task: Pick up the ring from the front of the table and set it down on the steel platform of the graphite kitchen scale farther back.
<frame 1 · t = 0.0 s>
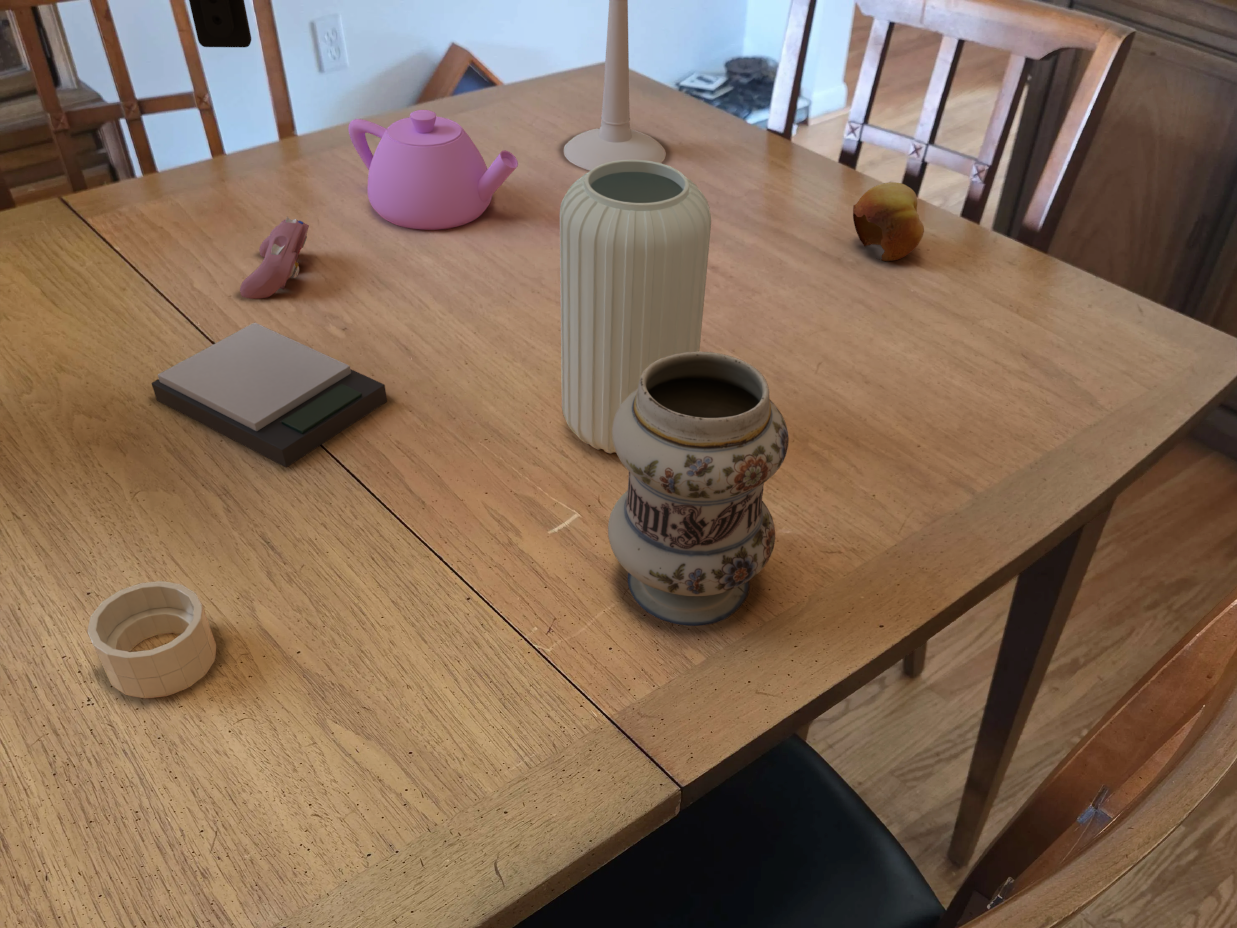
hand: (237, 20, 73), 32 cm above the table, tool pointing down, fingers open, 9 cm apart
teapot: (439, 213, 125), on the table
vase: (626, 432, 97), on the table
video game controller: (281, 283, 113), on the table
candlestick: (614, 158, 137), on the table
scale: (274, 406, 97), on the table
ring: (164, 664, 76), on the table
apothecary jar: (685, 589, 83), on the table
fruit: (880, 258, 122), on the table
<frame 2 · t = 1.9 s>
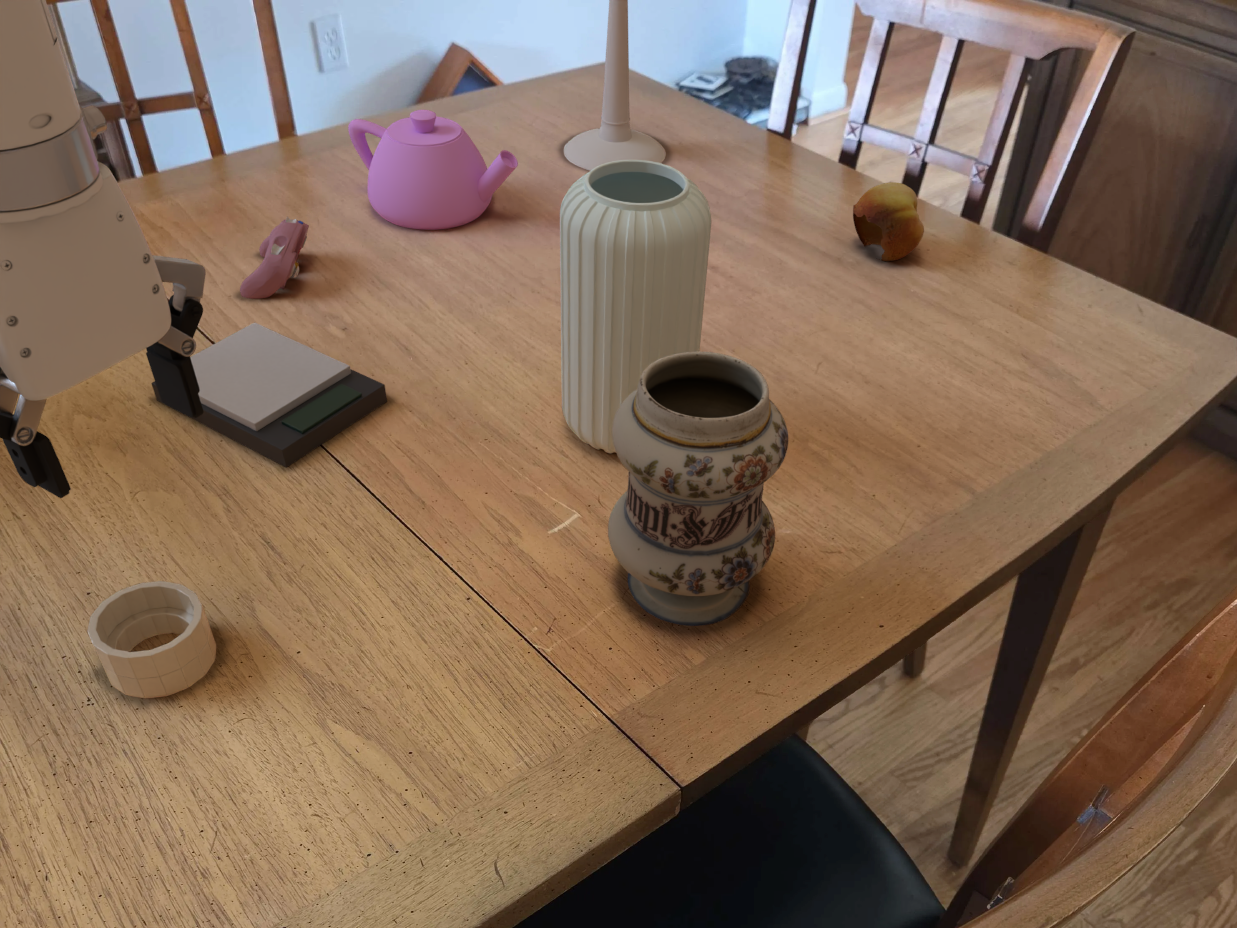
hand: (119, 446, 66), 16 cm above the table, tool pointing down, fingers open, 9 cm apart
nothing on the table moved.
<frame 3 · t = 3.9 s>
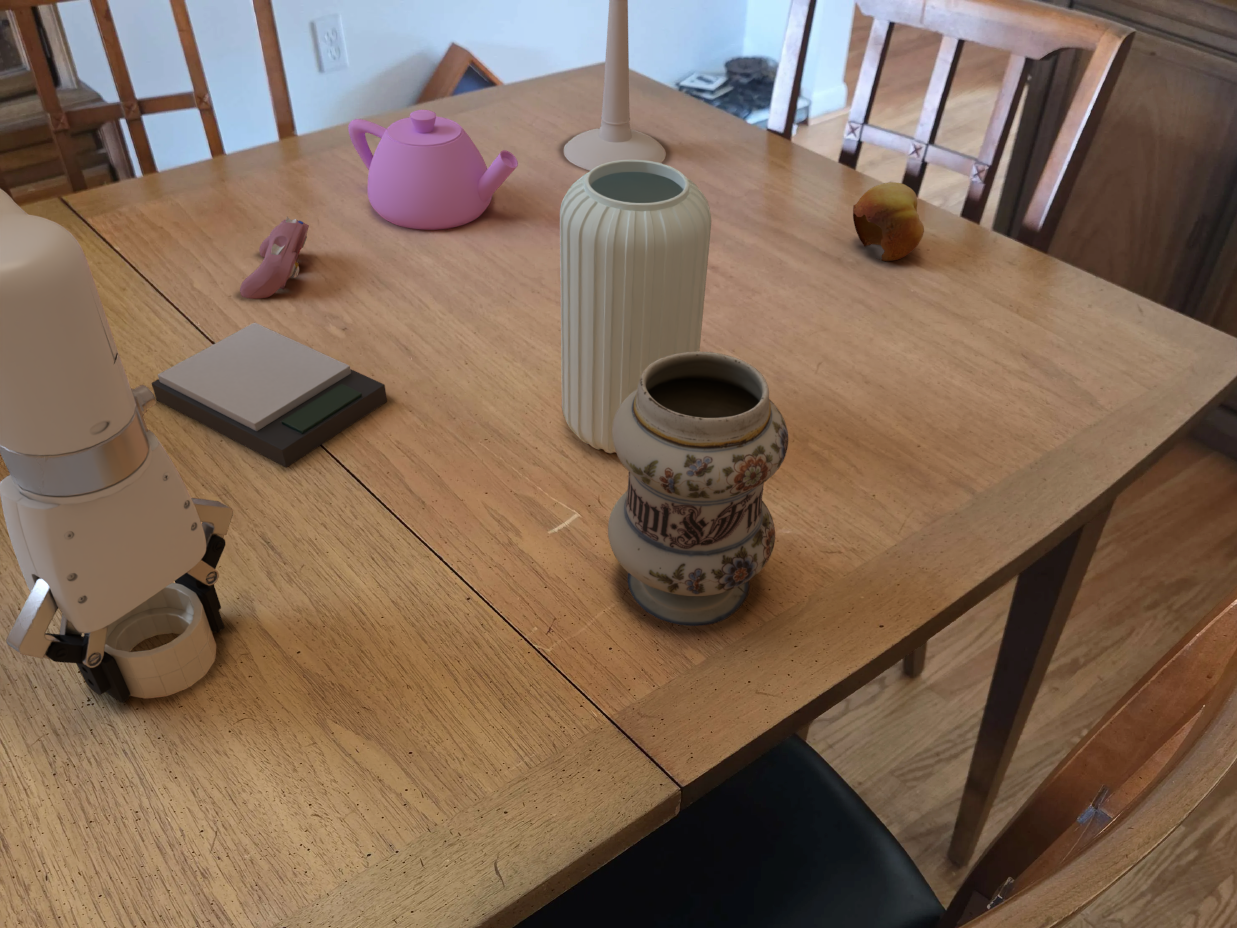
hand: (160, 654, 75), 1 cm above the table, tool pointing down, fingers closed on ring, 7 cm apart
ring: (164, 664, 76), on the table, touching gripper
everything else where it was.
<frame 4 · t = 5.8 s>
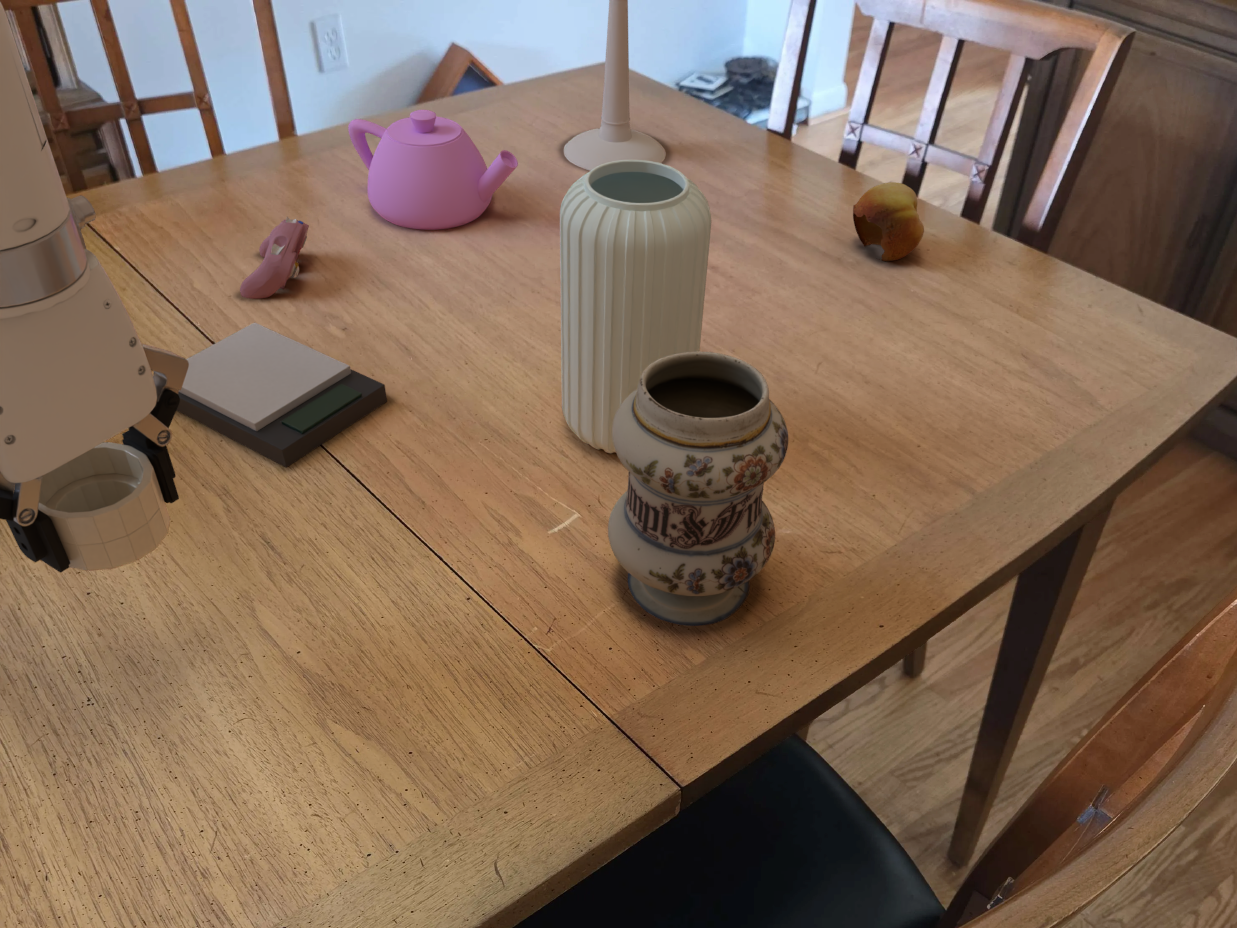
hand: (106, 524, 67), 12 cm above the table, tool pointing down, fingers closed on ring, 7 cm apart
ring: (111, 537, 68), point 11 cm above the table, touching gripper
everything else where it was.
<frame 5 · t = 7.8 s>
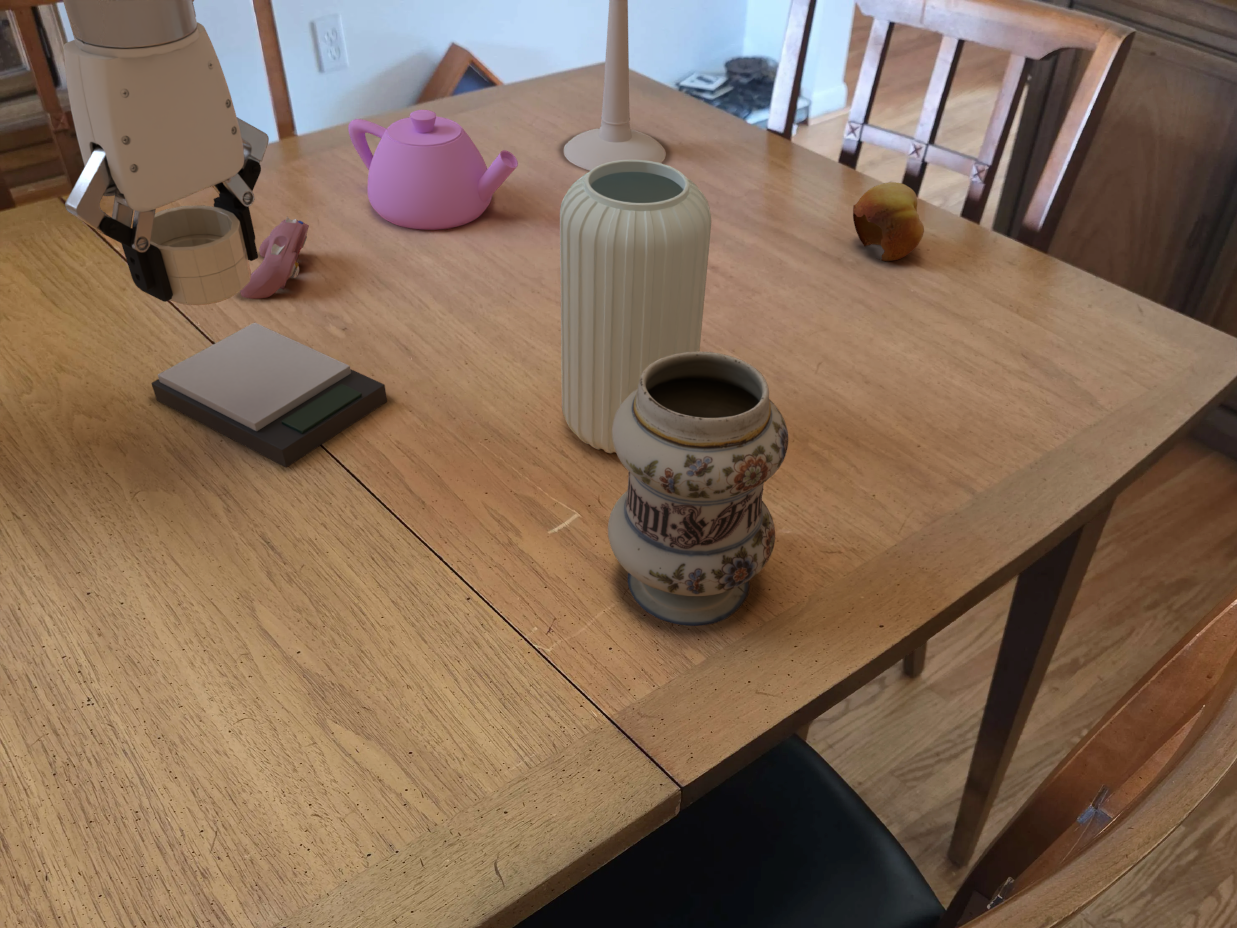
hand: (199, 272, 82), 16 cm above the table, tool pointing down, fingers closed on ring, 7 cm apart
ring: (203, 285, 83), point 15 cm above the table, touching gripper
everything else where it was.
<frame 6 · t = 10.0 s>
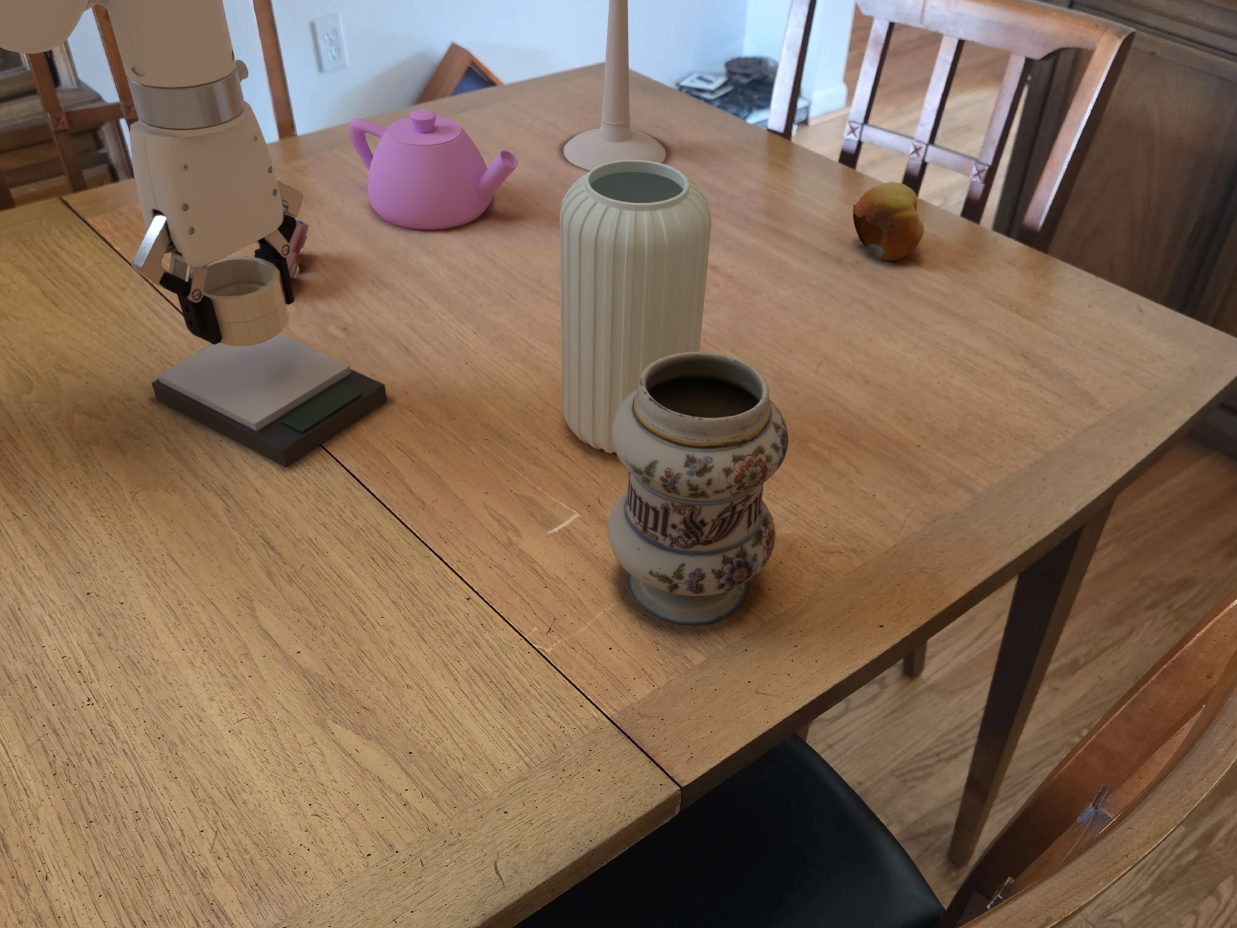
hand: (243, 316, 92), 8 cm above the table, tool pointing down, fingers closed on ring, 7 cm apart
ring: (246, 327, 93), point 7 cm above the table, touching gripper
everything else where it was.
when the fingers open (4 cm above the table, at t = 11.6 s): ring stays where it is, resting on scale.
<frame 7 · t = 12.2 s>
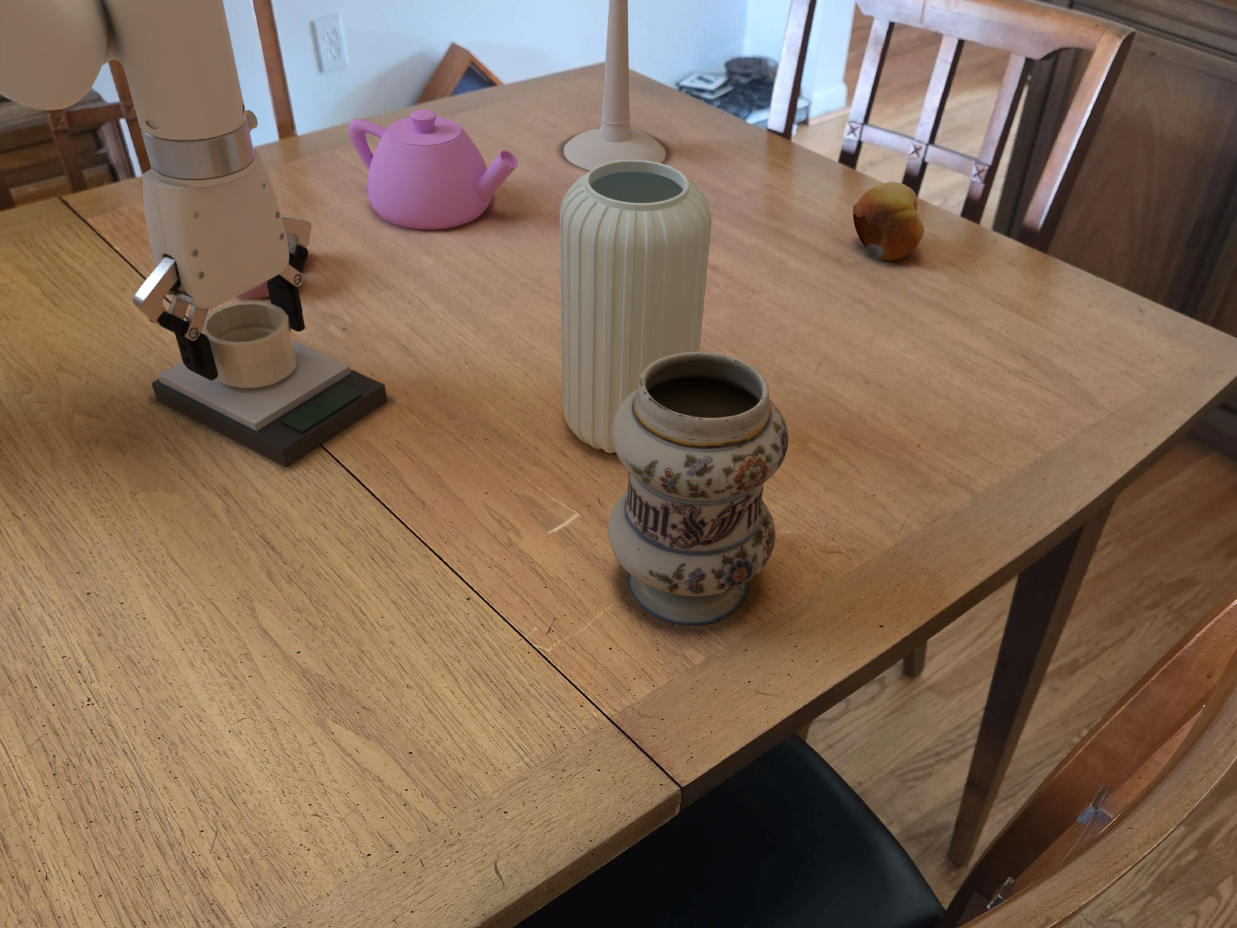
hand: (248, 349, 94), 5 cm above the table, tool pointing down, fingers open, 9 cm apart
ring: (255, 370, 95), point 3 cm above the table, touching scale
everything else where it was.
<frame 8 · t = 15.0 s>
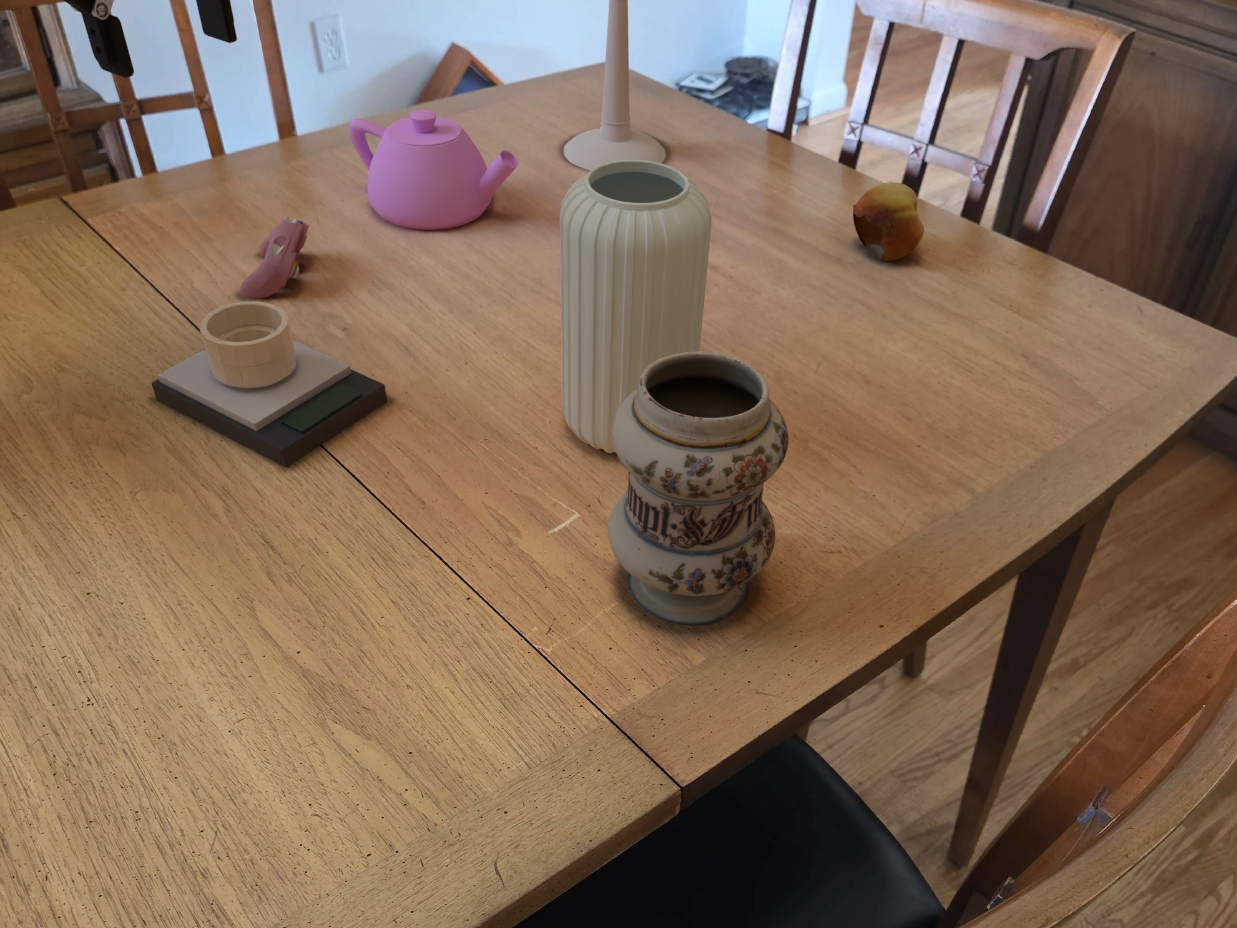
hand: (171, 55, 84), 26 cm above the table, tool pointing down, fingers open, 9 cm apart
nothing on the table moved.
at the end: ring inside the target area on the scale (0.1 cm from its centre), point 3.2 cm above the scale's base; ring tilted 0°; the gripper is holding nothing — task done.
